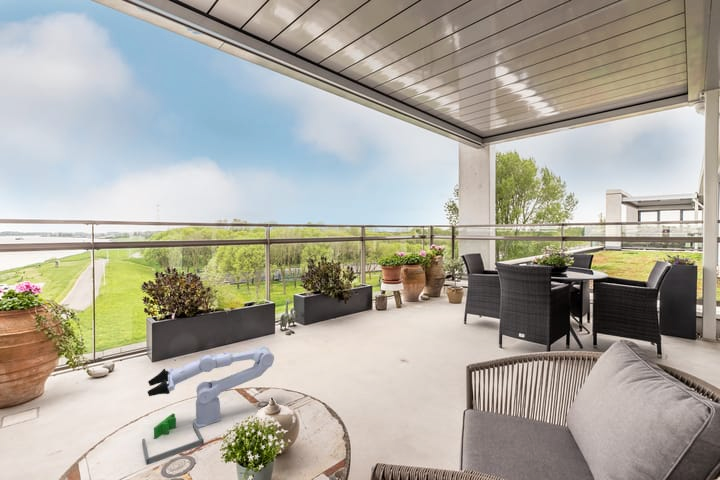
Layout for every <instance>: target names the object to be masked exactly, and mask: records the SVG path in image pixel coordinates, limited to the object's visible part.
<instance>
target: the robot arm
mask: <svg viewBox="0 0 720 480" xmlns="http://www.w3.org/2000/svg"><path fill="white" fill-rule="evenodd" d="M248 360H252V361H254V363H253V366H251V367H249V368H246V369H244V370H241V371H239V372H235V373H234V374H231V375H228V376H226V377H224V378H223V377H222V378H221V379H218V380H211V381H202V382H201V383H199V384H198V385H197V387H196V400H195V418H194V419H193V423H194V422H195V424H196V426H197V428H198V429H199V428H202V427H205V426H207V425H211V424H215V423H217V422H220V421H221V420H222V418H221V401H220V398H219V395H220V394H222V393H223V392H225V391H228V390H230V389H233V388H236V387H238V386H241V385H243V384H245V383H247V382H250V381H252V380H254V379H256V378H257V379H258V378H259V377H261V376H262V375H264V373H265V372H266V371H267V370H268V369H269V368H271V367H273V364H274V361H275V355H274V354H273V353H272V352H271V350H270V349H269V347H266V346H263V347H256V348H253V349H250V350H245V351H240V352H237V353H231V352H227V351H223V352H222V353H217V354H214V353H212V354H211V355H209V354H206V355H205V354H203V355H202V356H201V357H199V359H197V360H195V361H192V362H189V363H187V364H185V365H182V366H181V367H177V368H176V369H173V367H170V368H167V370H166V368H163V369H162V370H161V371H160V372H159V373H158V374H157V375H156V376H154V377H153V378H151V379H150V380H148V381H147V383H148V385H149V386H150V387H151V386H154V385H157V386H154V387H152V388H151V389H149V390H147V394H148V397H152V396H153V397H154V396H157V395H168V394H169V395H170V392H172V391H174V390H175V387H176V385H178V384H179V383H181V382H184V381H186V380H188V379H191V378H193V377H195V376H198V375H199V374H201V373H210V372H212V371H213V370H214V369H218V368H219V369H220V368H224V367H229V366H231V365H232V364H233V363H236V362H241V361H248Z"/></svg>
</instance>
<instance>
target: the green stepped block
mask: <svg viewBox="0 0 720 480" xmlns="http://www.w3.org/2000/svg"><path fill="white" fill-rule="evenodd" d="M174 429H177V418H176V414H175V413H171V414H170V415H169V416H167V417H166V418H165V419H163V420H162V421H160V422H159V423H158V424H157V425H156V426H153V439H155V440H156V439H159V438H160V437H161V436H162V435H164V436H165V435H167V436H168V435H170V430H174Z"/></svg>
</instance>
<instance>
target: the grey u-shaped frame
mask: <svg viewBox="0 0 720 480" xmlns="http://www.w3.org/2000/svg"><path fill="white" fill-rule="evenodd" d="M192 429H193V431H194V433H195V435H196V437H197V439H198V440H195V441H192V442H189V443H186V444H184V445H181V446H177V447H175V448H173V449H170V450H167V451H164V452H160V453H158V454H155V455H153V456H149V452H148V447H147V443H146V439H145V438H142V442H141V443H142V448H143V449H142V450H143V454H144V458H145V465H150V464H153V463H156V462H158V461H160V460H163V459H166V458H167V459H168V458H169V457H171V456H175V455H178V454H180V453H183V452H186V451H189V450H191V449H194V448H197V447H200V446H202V445H204V443H205V441H204V438H203V436H202V434H201V432H200V430H199V428H197V426H196V424H195V422H194V421H193V422H192Z"/></svg>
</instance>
